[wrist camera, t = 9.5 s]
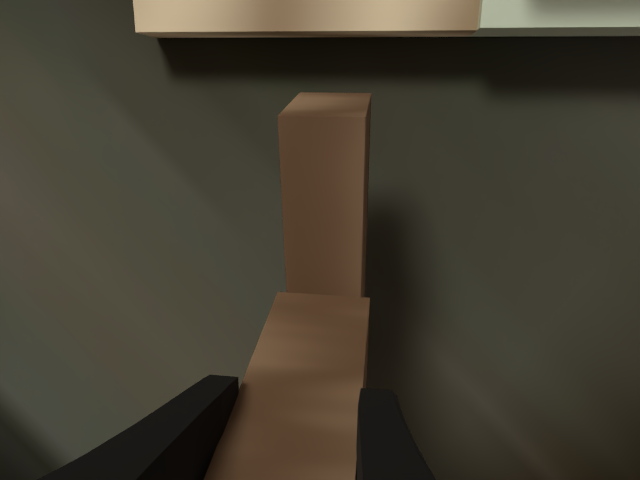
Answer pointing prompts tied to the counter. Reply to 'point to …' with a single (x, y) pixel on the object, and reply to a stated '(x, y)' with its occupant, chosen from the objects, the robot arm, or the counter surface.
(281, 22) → the slot rails
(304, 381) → the l-shaped wooden block
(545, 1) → the tray
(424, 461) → the robot arm
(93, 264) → the counter surface
